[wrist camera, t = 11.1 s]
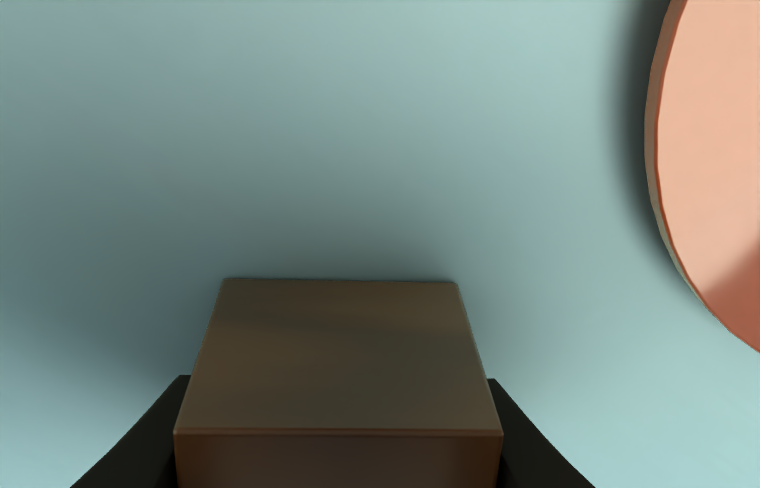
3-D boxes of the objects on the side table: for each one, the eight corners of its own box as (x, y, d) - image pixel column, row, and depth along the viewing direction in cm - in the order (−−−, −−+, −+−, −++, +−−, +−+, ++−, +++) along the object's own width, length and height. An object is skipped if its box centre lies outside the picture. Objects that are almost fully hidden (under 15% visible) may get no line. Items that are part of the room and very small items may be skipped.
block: (231, 462, 15) (190, 660, 11) (221, 276, 13) (170, 430, 9) (439, 464, 15) (472, 656, 11) (458, 281, 14) (506, 433, 10)
